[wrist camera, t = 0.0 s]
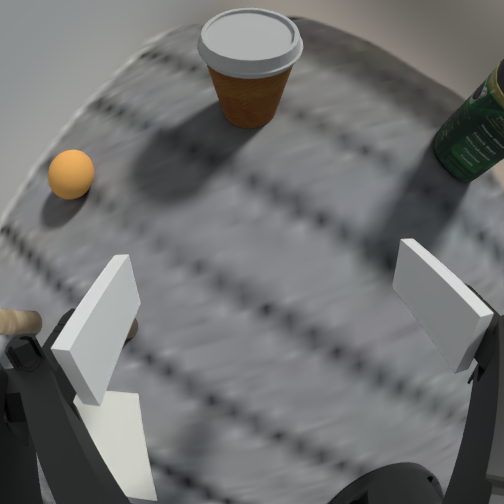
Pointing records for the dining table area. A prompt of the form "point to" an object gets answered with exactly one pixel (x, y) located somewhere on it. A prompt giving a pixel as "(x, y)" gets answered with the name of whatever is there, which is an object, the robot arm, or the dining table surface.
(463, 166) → the coffee jar
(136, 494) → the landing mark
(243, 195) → the dining table surface
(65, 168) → the ball
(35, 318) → the post
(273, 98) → the disposable coffee cup
